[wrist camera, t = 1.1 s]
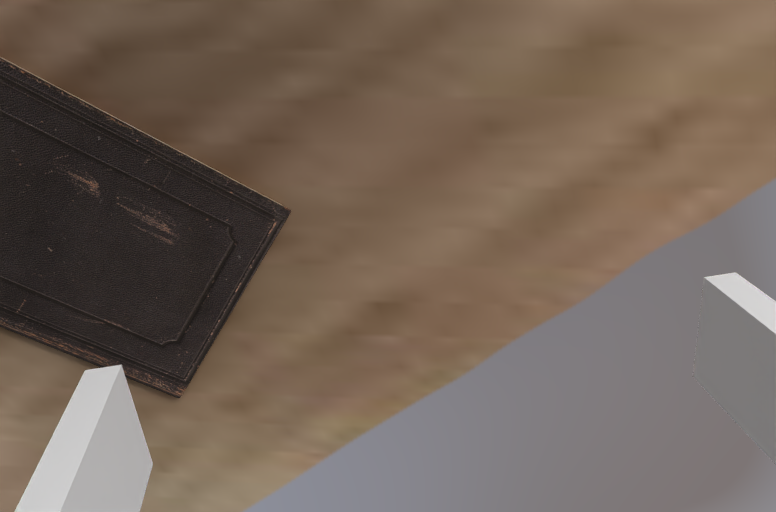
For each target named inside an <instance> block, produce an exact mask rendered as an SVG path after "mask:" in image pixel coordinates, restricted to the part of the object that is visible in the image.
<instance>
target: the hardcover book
mask: <svg viewBox="0 0 776 512" xmlns="http://www.w3.org/2000/svg"><path fill="white" fill-rule="evenodd" d="M290 213H291V210H289V209H288V208H286V207H284V206H283V205H281V204H280V203H278V202H276V201H274V200H272V199H270V198H268V197H266V196H264V195H262V194H261V193H259V192H257V191H255V190H253V189H251V188H249V187H247V186H245V185H243V184H242V183H240V182H238V181H236V180H234V179H232V178H230V177H228V176H226V175H224V174H223V173H221V172H219V171H217V170H215V169H213V168H211V167H209V166H207V165H205V164H204V163H202V162H200V161H198V160H196V159H194V158H192V157H190V156H188V155H186V154H185V153H183V152H181V151H179V150H177V149H175V148H173V147H171V146H169V145H167V144H165V143H164V142H162V141H160V140H158V139H156V138H154V137H152V136H150V135H148V134H146V133H145V132H143V131H141V130H139V129H137V128H135V127H133V126H131V125H129V124H127V123H126V122H124V121H122V120H120V119H118V118H116V117H114V116H112V115H110V114H108V113H107V112H105V111H103V110H101V109H99V108H97V107H95V106H93V105H91V104H89V103H88V102H86V101H84V100H82V99H80V98H78V97H76V96H74V95H72V94H70V93H69V92H67V91H65V90H63V89H61V88H59V87H57V86H55V85H53V84H51V83H50V82H48V81H46V80H44V79H42V78H40V77H38V76H36V75H34V74H32V73H31V72H29V71H27V70H25V69H23V68H21V67H19V66H17V65H15V64H13V63H12V62H10V61H8V60H6V59H4V58H2V57H0V327H2V328H5V329H7V330H10V331H12V332H15V333H17V334H20V335H22V336H25V337H27V338H30V339H32V340H35V341H37V342H40V343H42V344H45V345H47V346H50V347H52V348H55V349H57V350H60V351H62V352H65V353H67V354H70V355H72V356H75V357H77V358H80V359H82V360H85V361H87V362H90V363H92V364H94V365H97V366H99V367H102V368H103V367H109V366H116V365H122V368H123V371H124V374H125V377H127V378H129V379H132V380H134V381H137V382H139V383H142V384H144V385H147V386H149V387H152V388H154V389H157V390H159V391H162V392H164V393H167V394H169V395H172V396H174V397H177V398H180V397H181V396H182V394H183V393H184V391H185V389H186V388H187V386H188V384H189V383H190V381H191V379H192V377H193V376H194V374H195V372H196V371H197V369H198V367H199V366H200V364H201V362H202V361H203V359H204V357H205V356H206V354H207V352H208V351H209V349H210V347H211V346H212V344H213V342H214V340H215V339H216V337H217V335H218V334H219V332H220V330H221V329H222V327H223V325H224V324H225V322H226V320H227V319H228V317H229V315H230V314H231V312H232V310H233V309H234V307H235V305H236V303H237V302H238V300H239V298H240V297H241V295H242V293H243V292H244V290H245V288H246V287H247V285H248V283H249V282H250V280H251V278H252V277H253V275H254V273H255V271H256V270H257V268H258V266H259V265H260V263H261V261H262V260H263V258H264V256H265V255H266V253H267V251H268V250H269V248H270V246H271V245H272V243H273V241H274V240H275V238H276V236H277V234H278V233H279V231H280V229H281V228H282V226H283V224H284V223H285V221H286V219H287V218H288V216H289V214H290Z"/></svg>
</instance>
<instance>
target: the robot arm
mask: <svg viewBox="0 0 776 512" xmlns="http://www.w3.org/2000/svg"><path fill="white" fill-rule="evenodd" d="M693 377H694V379H695V380H696V381H697V382H698V383H699V384H700V385H701V386H702V387H703V388H704V389H705V390H706V391H707V392H708V394H709V395H710V396H711V397H712V398H713V399H714V400H715V401H716V402H717V403H718V404H719V405H720V406H721V407H722V408H723V410H724V411H725V412H726V413H727V414H728V415H729V416H730V417H731V418H732V419H733V420H734V421H735V422H736V423H737V424H738V425H739V426H740V427H741V429H742V430H743V431H744V432H745V433H746V434H747V435H748V436H749V437H750V438H751V439H752V440H753V441H754V443H755V444H756V445H757V446H758V447H759V448H760V449H761V450H762V451H763V452H764V453H765V454H766V455H767V456H768V457H769V458H770V460H772V462H773V463H774V464H775V465H776V302H775V301H774V300H773V299H771V298H770V297H769V296H767V295H766V294H765V293H763V292H762V291H761V290H759V289H758V288H756V287H755V286H754V285H752V284H751V283H749V282H748V281H747V280H745V279H744V278H743V277H741V276H740V275H738V274H737V273H730V274H723V275H716V276H709V277H704V283H703V291H702V300H701V309H700V317H699V327H698V334H697V343H696V352H695V361H694V369H693ZM152 465H153V463H152V459H151V456H150V453H149V450H148V447H147V444H146V440H145V437H144V434H143V431H142V428H141V425H140V421H139V418H138V415H137V412H136V409H135V406H134V403H133V399H132V396H131V393H130V390H129V387H128V384H127V380H126V377H125V374H124V371H123V368H122V365H116V366H109V367H103V368H96V369H89V370H85V371H84V373H83V375H82V377H81V379H80V381H79V383H78V385H77V387H76V389H75V391H74V393H73V395H72V397H71V399H70V401H69V403H68V405H67V407H66V409H65V411H64V413H63V415H62V417H61V419H60V421H59V423H58V425H57V427H56V429H55V431H54V434H53V436H52V438H51V440H50V442H49V444H48V446H47V448H46V450H45V452H44V454H43V456H42V458H41V460H40V462H39V464H38V466H37V468H36V470H35V472H34V474H33V476H32V478H31V480H30V482H29V484H28V486H27V488H26V490H25V492H24V494H23V496H22V498H21V500H20V502H19V504H18V506H17V508H16V510H15V512H140V509H141V505H142V502H143V498H144V494H145V491H146V487H147V483H148V480H149V476H150V472H151V469H152Z"/></svg>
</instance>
